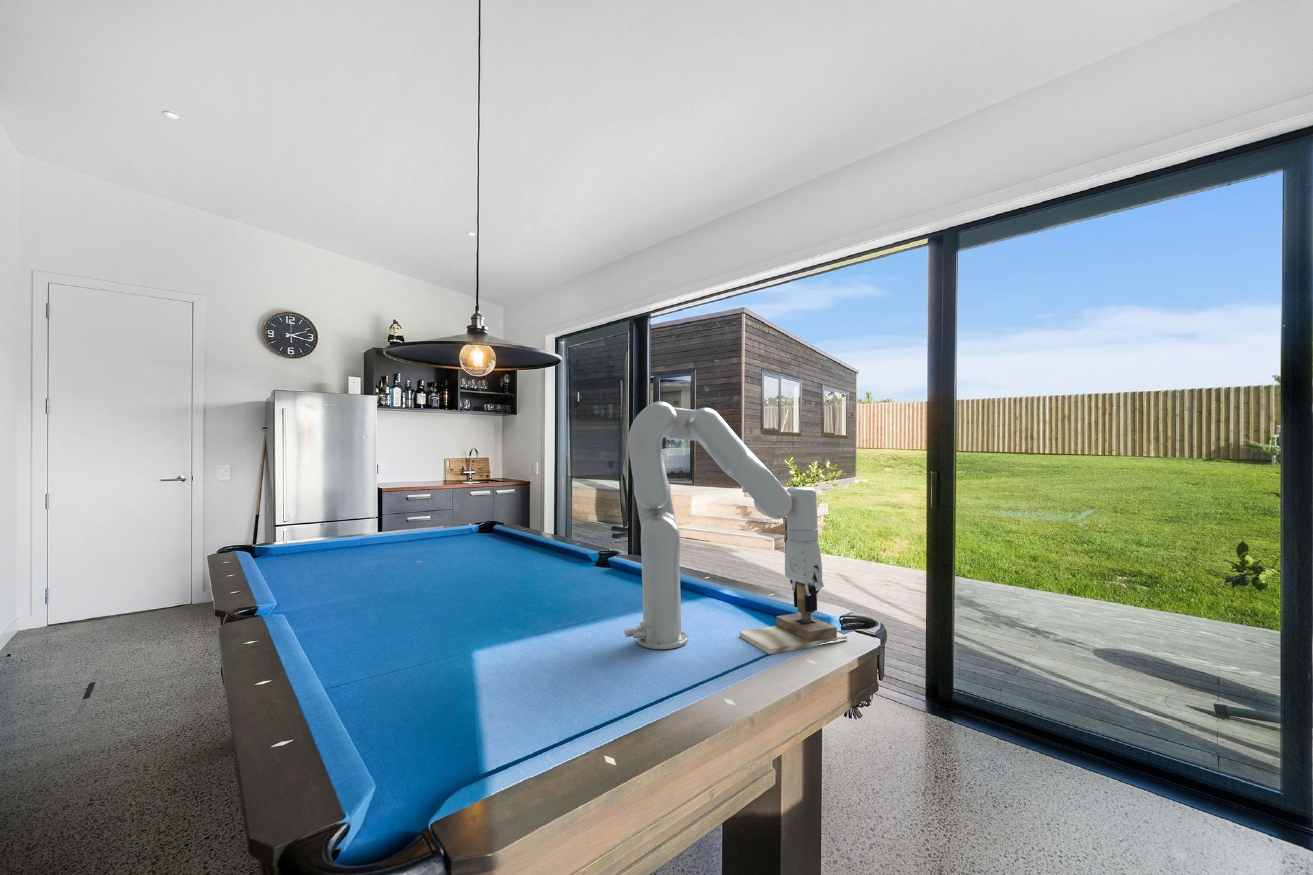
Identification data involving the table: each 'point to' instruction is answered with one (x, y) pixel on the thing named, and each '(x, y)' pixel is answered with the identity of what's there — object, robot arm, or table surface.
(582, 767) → the table surface
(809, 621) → the tan rounded cylinder
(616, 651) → the table surface
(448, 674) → the table surface
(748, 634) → the subfloor panel
